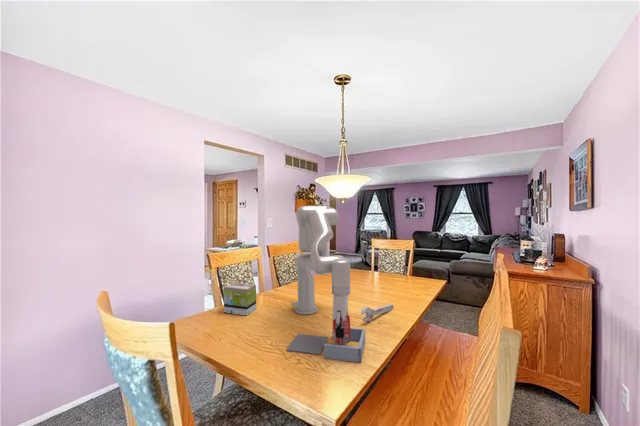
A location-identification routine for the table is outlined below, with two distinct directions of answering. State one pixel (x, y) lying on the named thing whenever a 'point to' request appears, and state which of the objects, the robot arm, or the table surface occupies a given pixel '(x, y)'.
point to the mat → (307, 344)
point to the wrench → (375, 312)
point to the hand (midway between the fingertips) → (341, 332)
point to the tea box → (240, 298)
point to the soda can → (346, 331)
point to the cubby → (347, 348)
